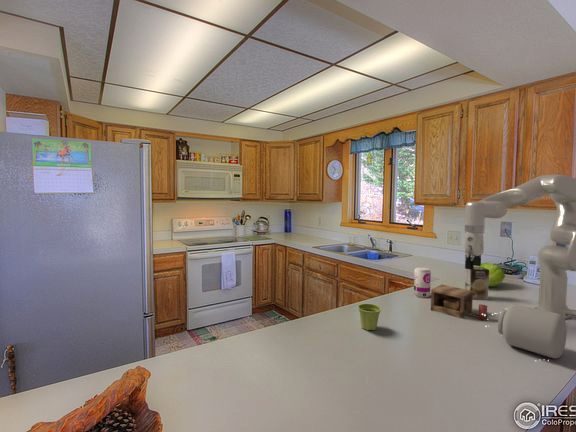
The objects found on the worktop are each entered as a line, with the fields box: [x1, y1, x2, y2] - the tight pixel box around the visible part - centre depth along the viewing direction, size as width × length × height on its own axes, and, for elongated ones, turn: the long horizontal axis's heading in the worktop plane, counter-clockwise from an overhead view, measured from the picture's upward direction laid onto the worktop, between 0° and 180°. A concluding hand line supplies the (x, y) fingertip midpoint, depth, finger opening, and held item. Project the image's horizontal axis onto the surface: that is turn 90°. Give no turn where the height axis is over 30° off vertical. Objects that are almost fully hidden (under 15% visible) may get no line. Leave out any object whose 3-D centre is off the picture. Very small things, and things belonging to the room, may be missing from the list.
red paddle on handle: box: [443, 298, 488, 321], centre depth 141 cm, size 17×5×6 cm, turn 42°
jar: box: [482, 304, 568, 362], centre depth 111 cm, size 19×15×25 cm
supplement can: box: [413, 266, 432, 299], centre depth 168 cm, size 8×8×15 cm
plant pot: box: [357, 302, 382, 331], centre depth 127 cm, size 9×9×9 cm
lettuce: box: [476, 262, 506, 288], centre depth 185 cm, size 15×22×15 cm
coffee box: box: [464, 266, 489, 301], centre depth 164 cm, size 9×6×16 cm
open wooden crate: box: [430, 284, 474, 319], centre depth 145 cm, size 14×12×10 cm
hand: (472, 267), depth 138 cm, fingers open, 9 cm apart
